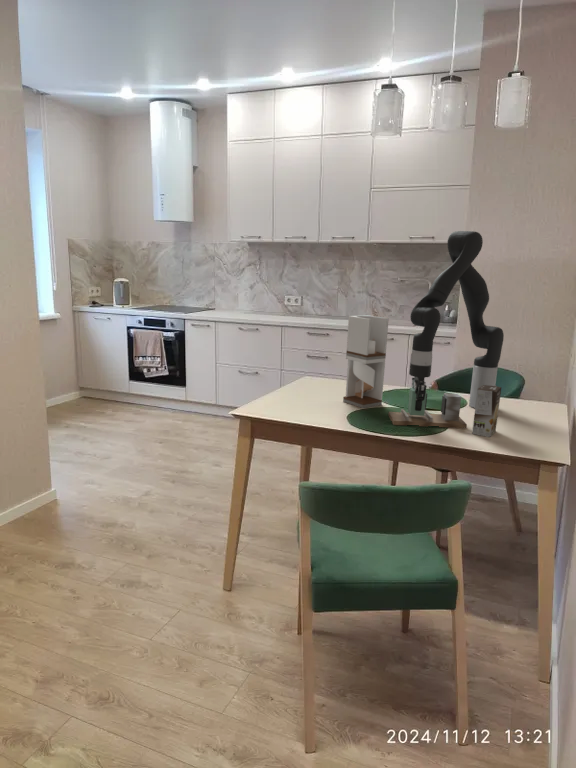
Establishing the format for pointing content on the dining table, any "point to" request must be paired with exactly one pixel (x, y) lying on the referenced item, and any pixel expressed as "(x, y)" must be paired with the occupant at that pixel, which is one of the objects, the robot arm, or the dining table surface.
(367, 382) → the white dispenser tower
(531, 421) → the dining table surface
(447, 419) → the rail
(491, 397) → the coffee box
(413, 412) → the green rectangular block
